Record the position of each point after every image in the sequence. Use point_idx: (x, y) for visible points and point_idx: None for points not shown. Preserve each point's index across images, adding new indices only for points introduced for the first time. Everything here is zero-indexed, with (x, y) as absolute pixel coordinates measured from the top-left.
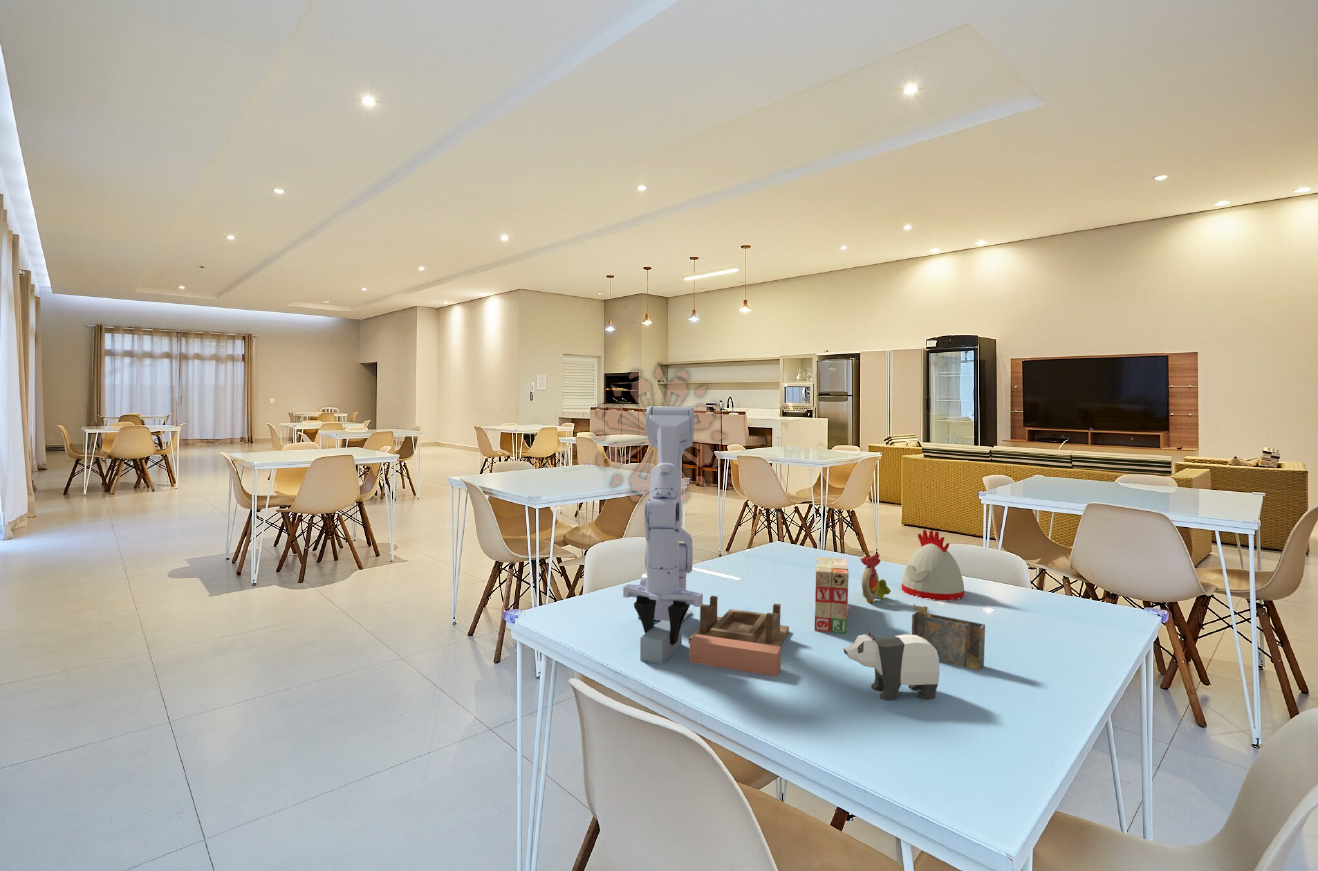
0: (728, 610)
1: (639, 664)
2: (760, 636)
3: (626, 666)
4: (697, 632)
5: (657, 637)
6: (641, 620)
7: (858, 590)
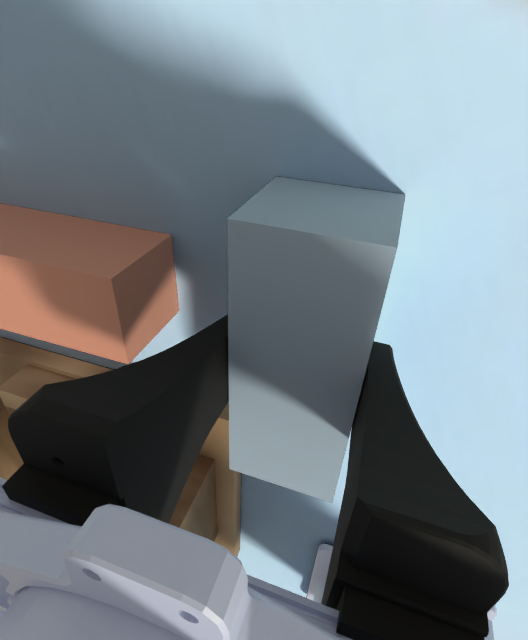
0: None
1: (398, 130)
2: None
3: (485, 64)
4: (224, 463)
5: (276, 272)
6: (415, 424)
7: None
